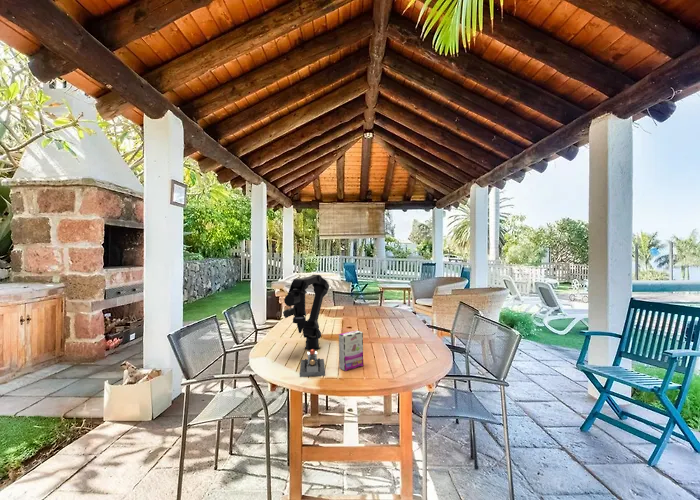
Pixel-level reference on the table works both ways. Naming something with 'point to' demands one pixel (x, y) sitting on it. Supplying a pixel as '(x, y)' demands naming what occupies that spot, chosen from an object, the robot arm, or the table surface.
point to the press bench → (320, 373)
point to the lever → (312, 356)
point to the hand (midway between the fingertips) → (299, 332)
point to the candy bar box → (350, 350)
